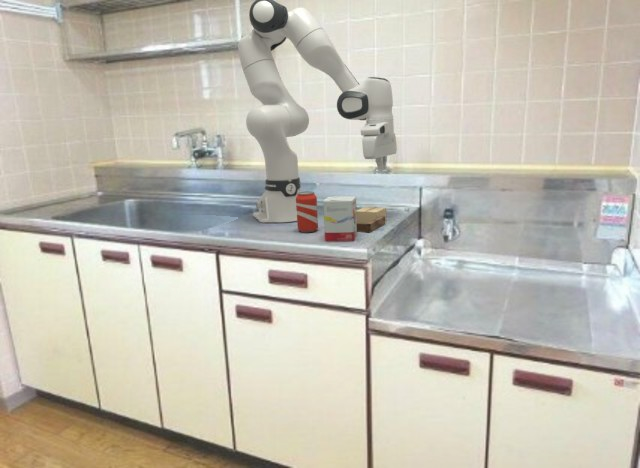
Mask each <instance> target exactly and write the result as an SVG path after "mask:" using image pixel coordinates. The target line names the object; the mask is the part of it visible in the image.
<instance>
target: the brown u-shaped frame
mask: <svg viewBox="0 0 640 468" xmlns="http://www.w3.org/2000/svg"><path fill="white" fill-rule="evenodd" d="M384 224H385V225H386V221H385V216H381V217H379V218H377V219H375V220H373V221H371V222H369V223H357V233H368V234H369V233H372V232H374V231H375V229H376V230H377V229H379V228H380V227H383V226H384ZM382 225H383V226H382Z"/></svg>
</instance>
